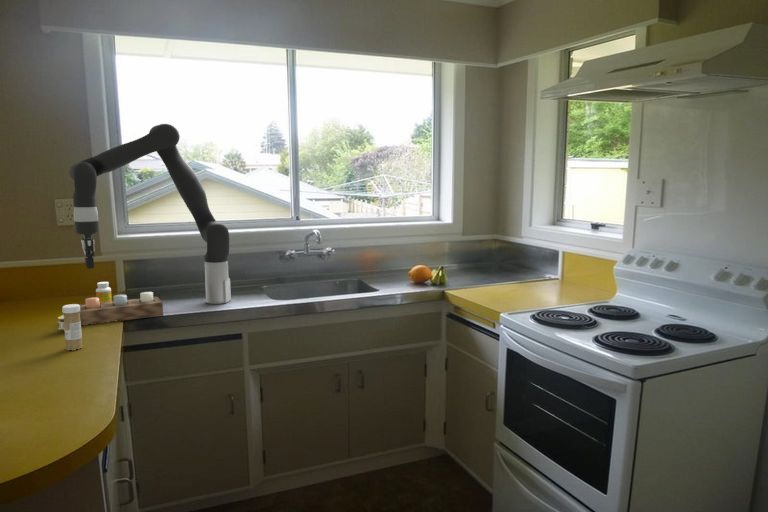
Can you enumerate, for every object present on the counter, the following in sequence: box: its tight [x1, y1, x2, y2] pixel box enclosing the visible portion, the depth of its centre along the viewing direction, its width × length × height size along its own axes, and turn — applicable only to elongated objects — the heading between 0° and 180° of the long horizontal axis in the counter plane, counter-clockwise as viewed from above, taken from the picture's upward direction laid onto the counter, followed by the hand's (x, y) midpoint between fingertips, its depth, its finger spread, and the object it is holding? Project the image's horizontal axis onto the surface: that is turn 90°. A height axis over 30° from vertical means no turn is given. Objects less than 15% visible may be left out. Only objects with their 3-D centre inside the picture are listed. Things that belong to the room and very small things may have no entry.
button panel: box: [79, 296, 164, 326], centre depth 192 cm, size 27×11×5 cm, turn 123°
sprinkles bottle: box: [61, 303, 84, 351], centre depth 156 cm, size 5×5×14 cm
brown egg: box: [84, 296, 100, 309], centre depth 187 cm, size 4×4×5 cm
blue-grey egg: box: [112, 294, 128, 306], centre depth 192 cm, size 4×4×5 cm
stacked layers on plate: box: [57, 313, 64, 330], centre depth 175 cm, size 10×9×6 cm
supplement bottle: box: [95, 281, 113, 303], centre depth 207 cm, size 5×5×10 cm
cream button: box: [139, 291, 154, 303], centre depth 197 cm, size 4×4×5 cm
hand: (89, 266), depth 185 cm, fingers open, 5 cm apart
